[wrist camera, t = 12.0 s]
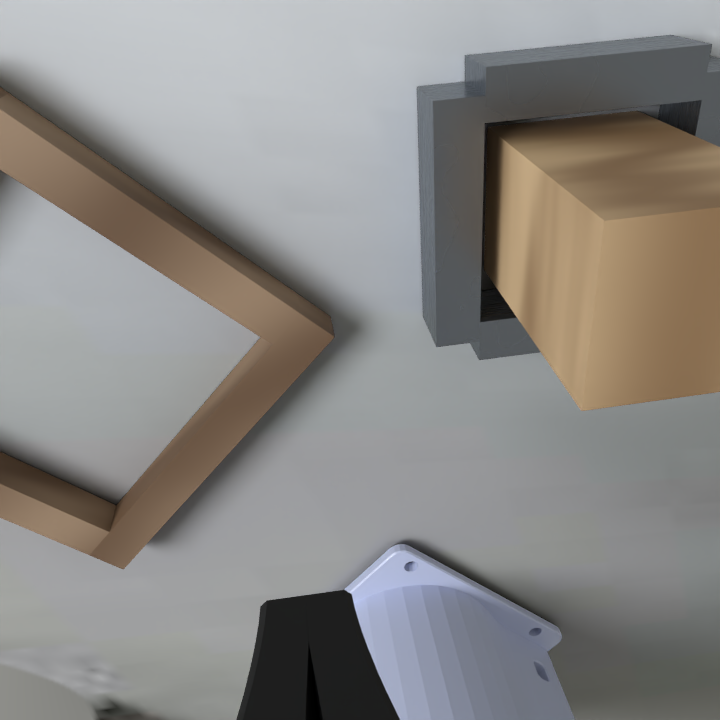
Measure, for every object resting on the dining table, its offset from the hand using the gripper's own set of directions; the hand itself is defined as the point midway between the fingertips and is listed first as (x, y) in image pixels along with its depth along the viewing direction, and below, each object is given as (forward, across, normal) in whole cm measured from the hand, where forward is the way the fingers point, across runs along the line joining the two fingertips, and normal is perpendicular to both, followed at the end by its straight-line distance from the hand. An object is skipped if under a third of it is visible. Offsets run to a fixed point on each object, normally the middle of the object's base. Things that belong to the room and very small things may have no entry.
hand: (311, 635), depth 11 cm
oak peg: (+10, -8, -3) cm, 13 cm away
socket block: (+10, -8, -3) cm, 13 cm away
